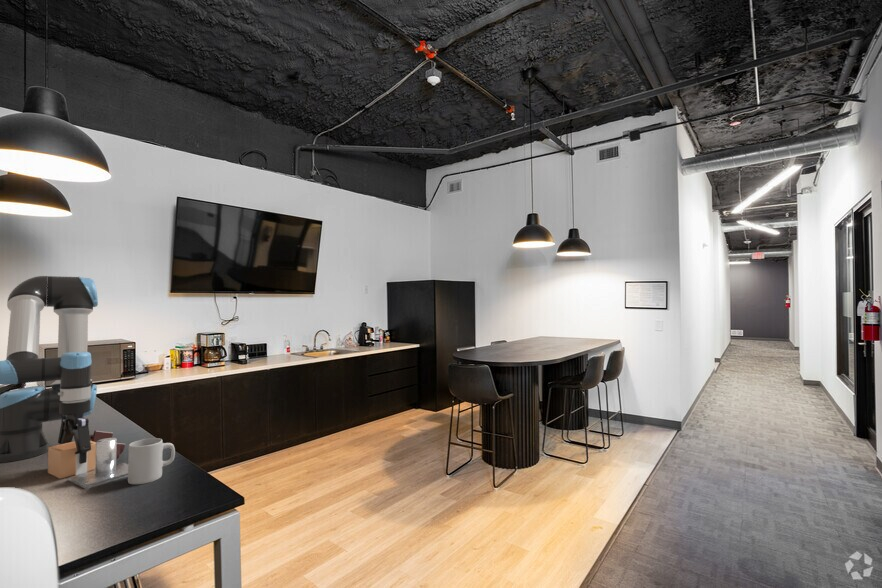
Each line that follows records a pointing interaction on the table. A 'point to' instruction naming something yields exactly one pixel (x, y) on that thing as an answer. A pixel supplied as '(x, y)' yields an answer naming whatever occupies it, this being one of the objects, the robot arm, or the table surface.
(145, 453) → the mug
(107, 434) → the bracket
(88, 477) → the duct flange
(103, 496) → the table surface
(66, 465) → the tan wooden box
